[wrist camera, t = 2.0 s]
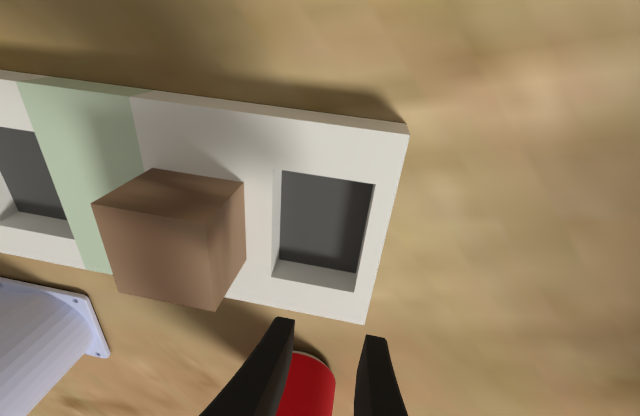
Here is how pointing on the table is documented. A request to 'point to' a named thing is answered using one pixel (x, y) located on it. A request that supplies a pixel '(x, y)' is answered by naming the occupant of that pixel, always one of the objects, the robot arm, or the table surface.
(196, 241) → the block
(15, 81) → the trap board
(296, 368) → the beverage can
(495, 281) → the table surface
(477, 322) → the table surface
